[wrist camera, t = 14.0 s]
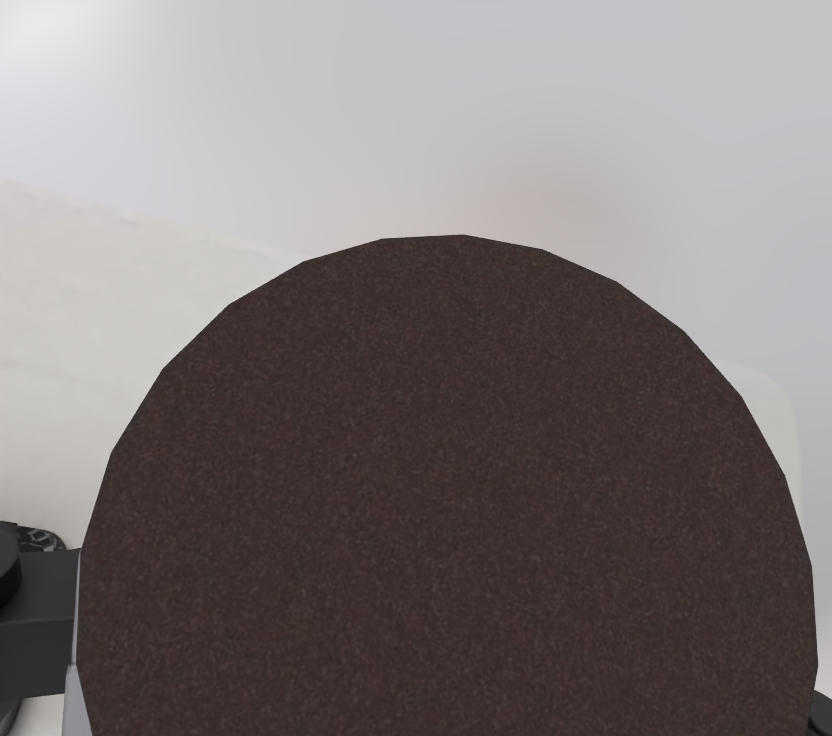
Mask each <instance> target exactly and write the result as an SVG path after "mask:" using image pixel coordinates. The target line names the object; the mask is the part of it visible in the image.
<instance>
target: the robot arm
mask: <svg viewBox="0 0 832 736" xmlns="http://www.w3.org/2000/svg"><path fill="white" fill-rule="evenodd" d="M81 549H82V548H78V549H73V550H64V551H46V552H26V553H20V551H19V544H18V541H17V539H16V538H15V537H14V535H13V534H11V533H10V532H8V531H7V530H5V529H2V528H0V723H1V721H2V720H3V719H4V718H5V717H6V716H7V714H8V713H9V712H10V711H11V710H12V709H13V707H14V706H15V705H16V704H17V703H18V702H19V701H20V699H22V698H30V697H39V696H47V695H55V694H64V693H65V698H64V711H63V724H62V736H92V732H91V728H90V723H89V719H88V715H87V710H86V706H85V702H84V697H83V693H82V689H81V684H80V680H79V676H78V671H77V667H76V644H77V621H78V597H79V573H80V552H81ZM806 736H832V700H831V699H830V698H828V697H827V696H825V695H823V694H822V693H820V692H818V691H816V690H814V692H813V698H812V703H811V709H810V715H809V720H808V726H807V732H806Z"/></svg>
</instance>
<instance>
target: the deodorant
mask: <svg viewBox="0 0 832 736" xmlns="http://www.w3.org/2000/svg"><path fill="white" fill-rule="evenodd" d="M76 667H77V671H78V676H79V680H80V684H81V689H82V693H83V697H84V702H85V706H86V710H87V715H88V719H89V723H90V728H91V732H92V736H806V732H807V726H808V720H809V715H810V709H811V703H812V698H813V692H814V686H815V681H816V675H817V669H818V655H817V640H816V624H815V608H814V592H813V576H812V565H811V562H810V558H809V555H808V551H807V548H806V544H805V541H804V537H803V534H802V531H801V527H800V524H799V521H798V517H797V514H796V511H795V507H794V504H793V501H792V498H791V494H790V491H789V488H788V484H787V481H786V478H785V475H784V473H783V471H782V470H781V468H780V466H779V464H778V462H777V460H776V459H775V457H774V455H773V453H772V451H771V449H770V448H769V446H768V444H767V442H766V440H765V439H764V437H763V435H762V433H761V431H760V429H759V428H758V426H757V424H756V422H755V420H754V418H753V417H752V415H751V413H750V411H749V409H748V408H747V406H746V404H745V402H744V400H743V398H742V397H741V395H740V394H739V393H738V392H737V391H736V390H735V388H734V387H733V386H732V385H731V384H730V383H729V382H728V380H727V379H726V378H725V377H724V376H723V375H722V374H721V372H720V371H719V370H718V369H717V368H716V367H715V366H714V365H713V363H712V362H711V361H710V360H709V359H708V358H707V357H706V355H705V354H704V353H703V352H702V351H701V350H700V349H699V347H698V346H697V345H696V344H695V343H694V342H693V341H692V340H691V339H690V337H689V336H688V335H687V334H686V333H685V332H684V331H683V330H682V329H680V328H679V327H678V326H676V325H675V324H674V323H672V322H671V321H669V320H668V319H667V318H666V317H664V316H663V315H661V314H660V313H659V312H657V311H656V310H654V309H653V308H652V307H651V306H649V305H648V304H646V303H645V302H644V301H642V300H641V299H640V298H638V297H637V296H636V295H634V294H633V293H632V292H630V291H629V290H627V289H626V288H624V287H623V286H622V285H621V284H619V283H618V282H616V281H614V280H612V279H609V278H607V277H605V276H602V275H600V274H598V273H595V272H593V271H591V270H589V269H586V268H584V267H582V266H579V265H577V264H575V263H573V262H570V261H568V260H566V259H563V258H561V257H559V256H557V255H554V254H552V253H550V252H547V251H545V250H543V249H538V248H532V247H527V246H522V245H517V244H511V243H506V242H501V241H495V240H489V239H485V238H479V237H474V236H468V235H445V236H425V237H406V238H387V239H386V238H385V239H380V240H376V241H373V242H369V243H366V244H362V245H359V246H355V247H352V248H349V249H345V250H342V251H338V252H335V253H331V254H328V255H324V256H321V257H317V258H314V259H310V260H307V261H304V262H302V263H300V264H298V265H296V266H295V267H293V268H291V269H289V270H288V271H286V272H284V273H283V274H281V275H279V276H277V277H276V278H274V279H272V280H270V281H269V282H267V283H265V284H264V285H262V286H260V287H258V288H257V289H255V290H253V291H251V292H250V293H248V294H246V295H245V296H243V297H241V298H239V299H238V300H236V301H234V302H233V303H231V304H229V305H228V306H227V307H226V308H225V309H224V310H223V311H222V312H221V313H219V314H218V315H217V316H216V317H215V318H214V319H213V320H212V321H211V322H210V323H209V324H208V325H207V326H206V327H205V328H204V329H203V330H202V331H201V332H200V333H199V334H198V335H197V336H196V337H195V338H194V339H193V340H192V341H191V342H190V343H189V344H188V345H187V346H186V347H185V348H183V349H182V350H181V351H180V352H179V353H178V354H177V355H176V356H175V357H174V358H173V359H172V360H171V361H170V362H169V363H168V364H167V365H166V366H165V367H164V368H163V369H162V371H161V372H160V374H159V376H158V377H157V379H156V381H155V382H154V384H153V385H152V387H151V389H150V390H149V392H148V393H147V395H146V397H145V398H144V400H143V402H142V403H141V405H140V406H139V408H138V410H137V411H136V413H135V415H134V416H133V418H132V419H131V421H130V423H129V424H128V426H127V428H126V429H125V431H124V432H123V434H122V436H121V437H120V439H119V441H118V442H117V444H116V445H115V447H114V449H113V450H112V452H111V455H110V458H109V461H108V464H107V468H106V471H105V474H104V477H103V481H102V484H101V487H100V490H99V494H98V497H97V500H96V503H95V507H94V510H93V513H92V516H91V519H90V523H89V526H88V529H87V532H86V536H85V539H84V542H83V545H82V549H81V552H80V573H79V597H78V621H77V644H76Z"/></svg>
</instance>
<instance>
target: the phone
mask: <svg viewBox="0 0 832 736" xmlns="http://www.w3.org/2000/svg"><path fill="white" fill-rule="evenodd" d="M0 528H2V529H5V530H7V531H8V532H10V533H11V534H13V535H14V537H15V538H16V539H17V541H18V544H19V551H20V553H26V552H46V551H64V550H65V546H64V544H63V542H62V540H61V539H60V538H59V537H58V536H57V535H55V534H54V533H52V532H49V531H46V530H41V529H35V528H29V527H23V526H17V523H11V522H5V521H0ZM20 702H21V699H20V701H19V702H18V703H17V704H16V705H15V706H14V707H13V709H12V710H11V711H10V712H9V713H8V714H7V716H6V717H5V718H4V719H3V720H2V721H1V723H0V736H6V735H7V734H8V733H9V731H10V729H11V727H12V725H13V723H14V721H15V718H16V715H17V712H18V709H19V706H20Z"/></svg>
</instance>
